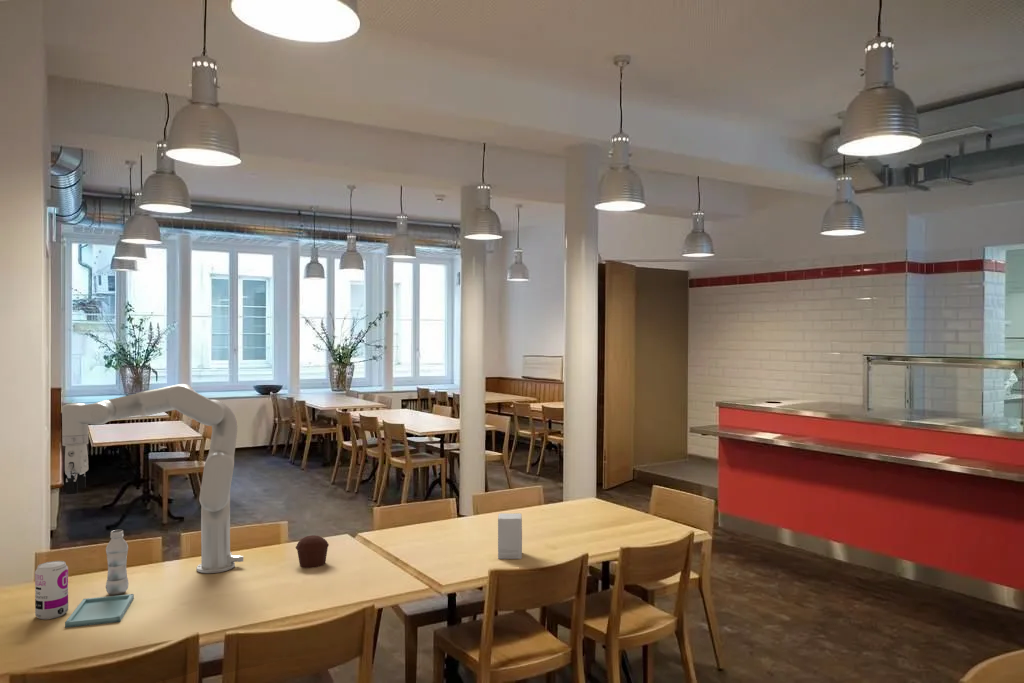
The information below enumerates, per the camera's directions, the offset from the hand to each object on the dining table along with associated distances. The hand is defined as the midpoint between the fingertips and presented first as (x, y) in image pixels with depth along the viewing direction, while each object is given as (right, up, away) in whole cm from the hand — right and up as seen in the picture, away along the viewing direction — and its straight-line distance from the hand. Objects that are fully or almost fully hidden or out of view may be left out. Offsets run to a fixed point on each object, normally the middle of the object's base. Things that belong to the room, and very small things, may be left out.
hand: (76, 490), depth 246 cm
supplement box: (+146, -30, +27) cm, 152 cm away
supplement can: (+10, -31, -29) cm, 44 cm away
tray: (+24, -31, -28) cm, 48 cm away
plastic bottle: (+20, -31, -11) cm, 38 cm away
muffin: (+74, -31, +19) cm, 83 cm away
